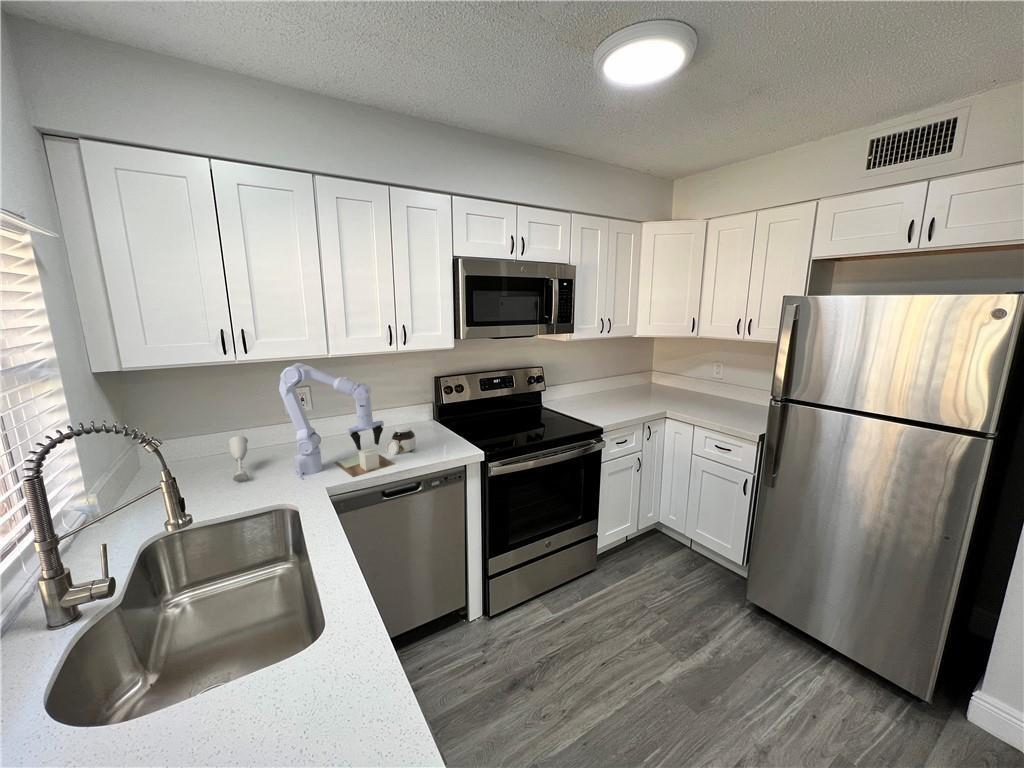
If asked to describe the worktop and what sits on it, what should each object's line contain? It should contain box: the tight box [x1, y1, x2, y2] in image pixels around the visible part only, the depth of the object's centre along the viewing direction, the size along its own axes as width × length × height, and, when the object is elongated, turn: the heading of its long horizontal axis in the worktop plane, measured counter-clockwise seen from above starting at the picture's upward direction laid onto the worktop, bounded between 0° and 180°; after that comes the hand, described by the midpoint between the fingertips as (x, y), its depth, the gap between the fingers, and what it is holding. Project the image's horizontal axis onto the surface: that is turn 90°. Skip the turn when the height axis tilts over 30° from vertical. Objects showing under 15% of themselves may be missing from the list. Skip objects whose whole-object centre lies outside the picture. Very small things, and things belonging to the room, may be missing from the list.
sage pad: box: [336, 455, 360, 468], centre depth 175 cm, size 9×9×1 cm
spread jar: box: [385, 424, 417, 456], centre depth 186 cm, size 12×11×12 cm
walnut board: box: [333, 453, 396, 478], centre depth 173 cm, size 18×20×1 cm
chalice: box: [227, 435, 250, 483], centre depth 164 cm, size 7×7×18 cm
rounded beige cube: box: [358, 447, 379, 471], centre depth 169 cm, size 6×6×6 cm
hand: (368, 446), depth 168 cm, fingers open, 7 cm apart
